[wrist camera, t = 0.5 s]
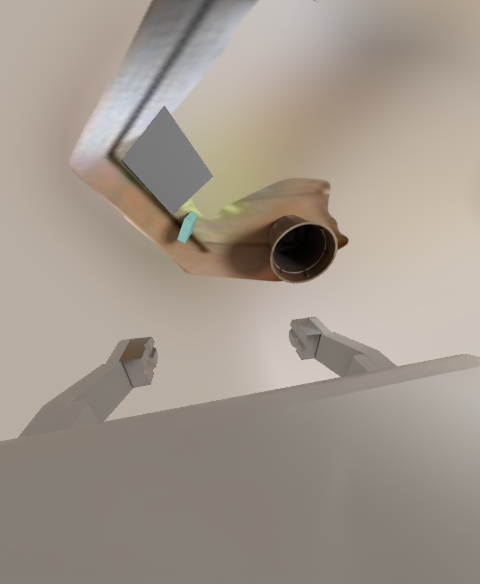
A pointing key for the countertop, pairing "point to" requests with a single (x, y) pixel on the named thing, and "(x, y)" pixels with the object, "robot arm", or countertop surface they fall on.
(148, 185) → the mat
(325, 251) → the plant pot
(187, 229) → the teal board
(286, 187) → the countertop surface
